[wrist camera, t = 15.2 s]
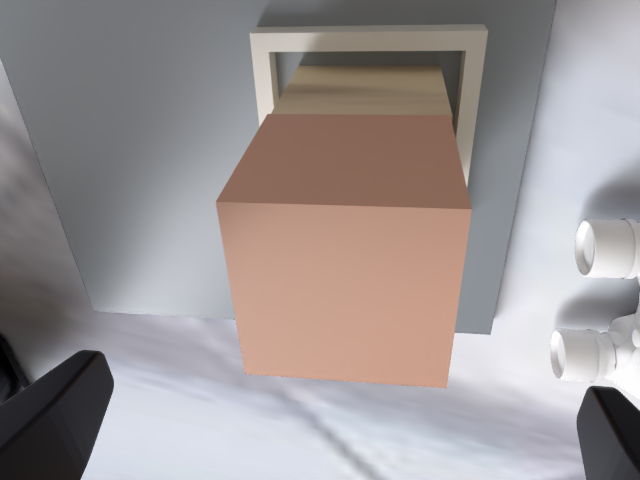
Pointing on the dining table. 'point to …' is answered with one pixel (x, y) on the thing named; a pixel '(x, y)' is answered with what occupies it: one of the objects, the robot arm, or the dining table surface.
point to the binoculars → (624, 332)
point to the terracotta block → (347, 247)
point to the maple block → (366, 91)
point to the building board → (246, 122)
